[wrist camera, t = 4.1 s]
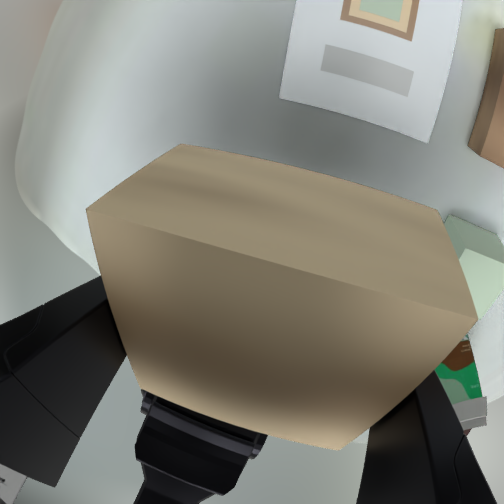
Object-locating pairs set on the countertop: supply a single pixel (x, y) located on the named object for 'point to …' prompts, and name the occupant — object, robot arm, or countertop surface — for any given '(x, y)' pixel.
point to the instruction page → (373, 59)
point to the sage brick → (478, 261)
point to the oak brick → (277, 292)
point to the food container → (463, 386)
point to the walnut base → (492, 109)
